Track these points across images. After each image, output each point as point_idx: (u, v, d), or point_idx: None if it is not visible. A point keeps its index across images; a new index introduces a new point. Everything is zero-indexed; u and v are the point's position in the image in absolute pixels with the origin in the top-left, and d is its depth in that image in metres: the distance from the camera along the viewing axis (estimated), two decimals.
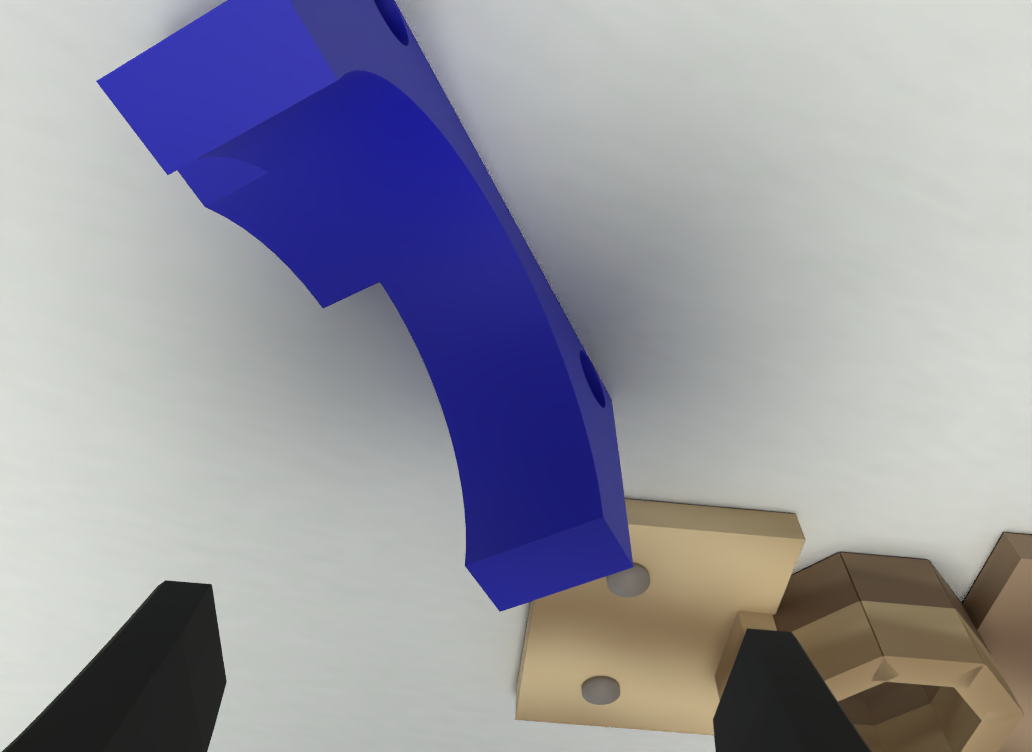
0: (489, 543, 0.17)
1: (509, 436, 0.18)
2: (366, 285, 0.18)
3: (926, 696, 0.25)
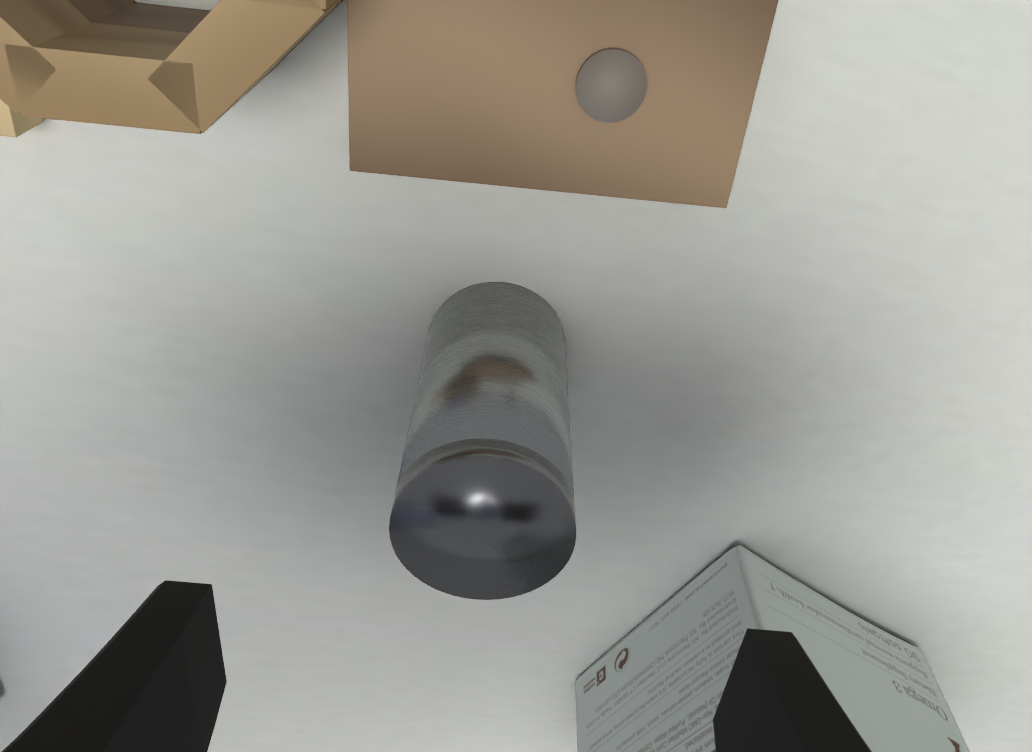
0: None
1: None
2: None
3: None
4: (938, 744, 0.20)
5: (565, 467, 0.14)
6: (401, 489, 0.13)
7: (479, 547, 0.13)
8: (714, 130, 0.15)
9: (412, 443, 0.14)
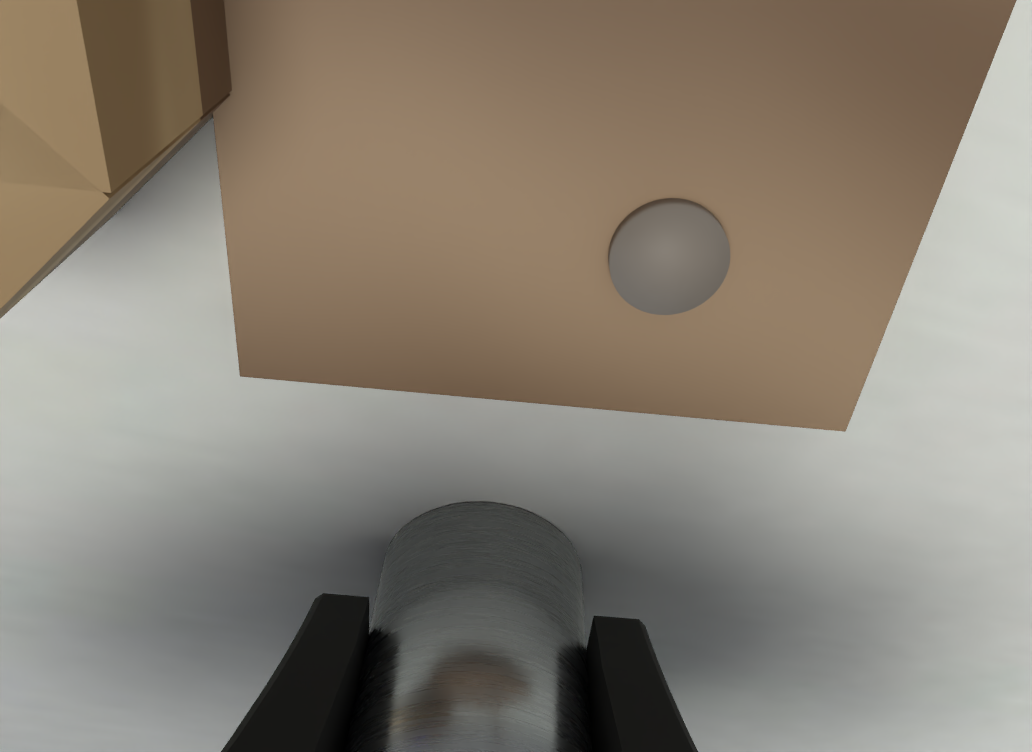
0: None
1: None
2: None
3: None
4: None
5: None
6: None
7: None
8: (835, 323, 0.09)
9: None
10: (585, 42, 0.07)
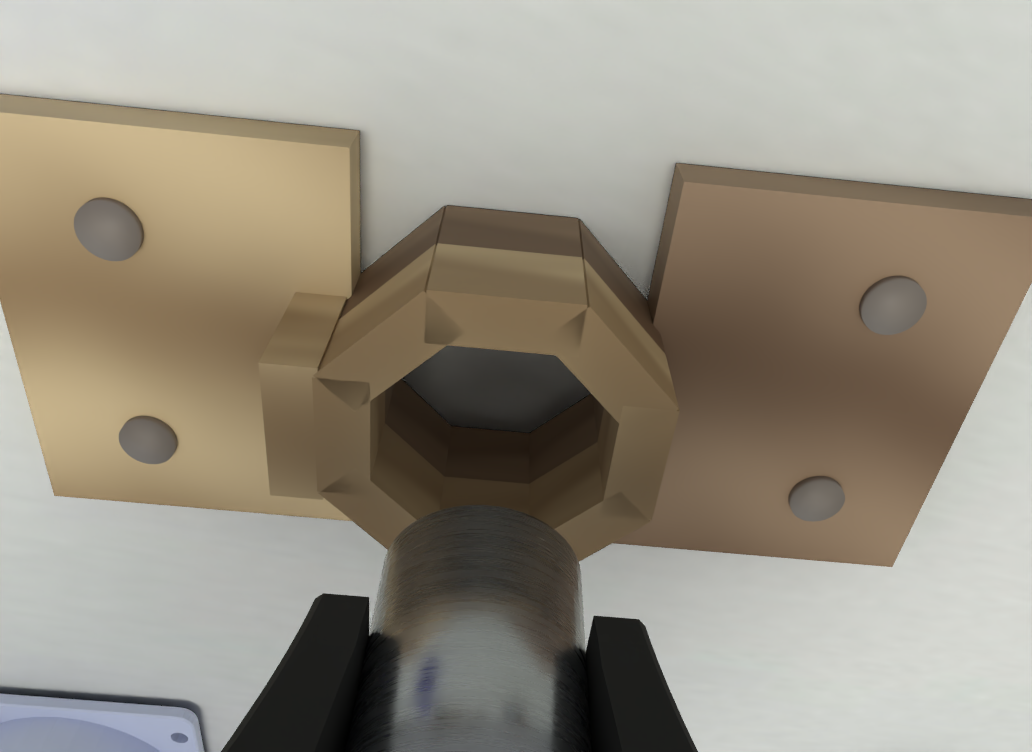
0: None
1: None
2: None
3: (595, 435, 0.17)
4: None
5: None
6: None
7: None
8: (889, 522, 0.19)
9: None
10: (790, 423, 0.18)
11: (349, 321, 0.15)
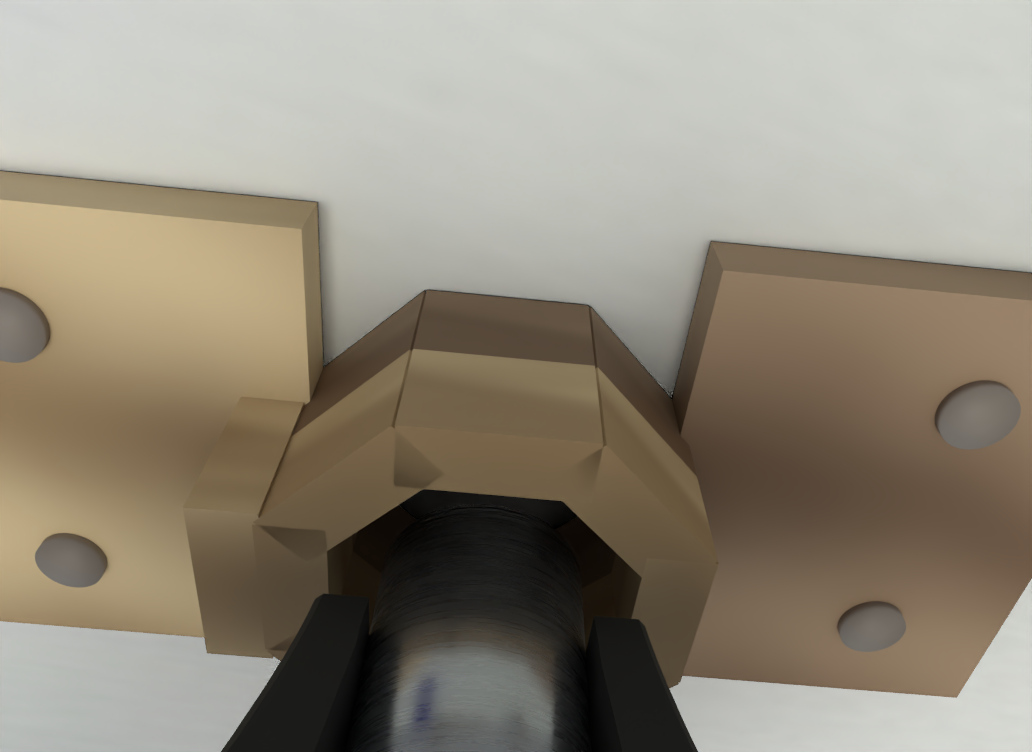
0: None
1: None
2: None
3: (609, 562, 0.14)
4: None
5: None
6: None
7: None
8: (956, 651, 0.16)
9: None
10: (844, 544, 0.15)
11: (303, 444, 0.12)
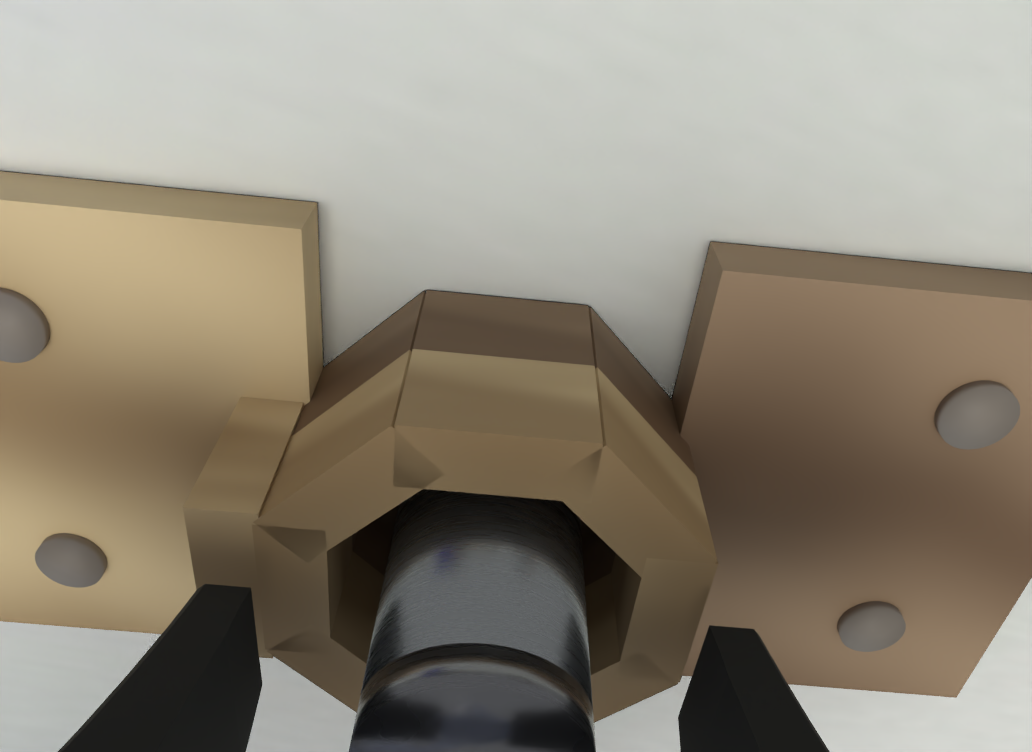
0: None
1: None
2: None
3: (608, 562, 0.14)
4: None
5: (578, 663, 0.10)
6: (361, 713, 0.10)
7: None
8: (956, 651, 0.16)
9: (378, 635, 0.11)
10: (844, 544, 0.15)
11: (302, 444, 0.12)
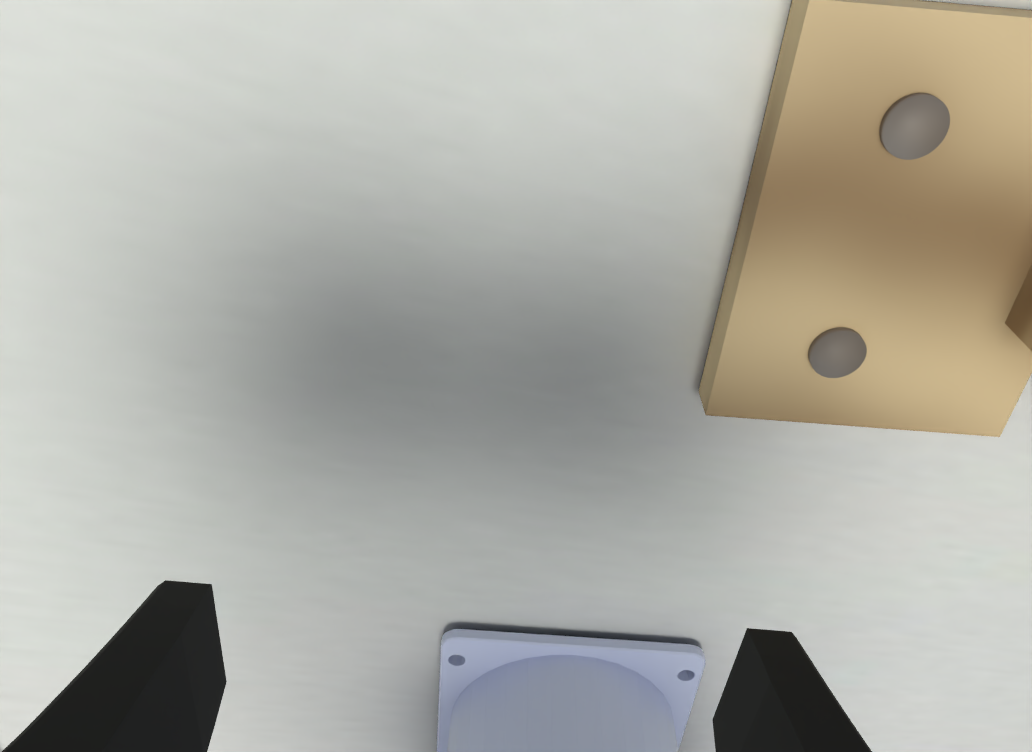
0: None
1: None
2: None
3: None
4: None
5: None
6: None
7: None
8: None
9: None
10: None
11: None
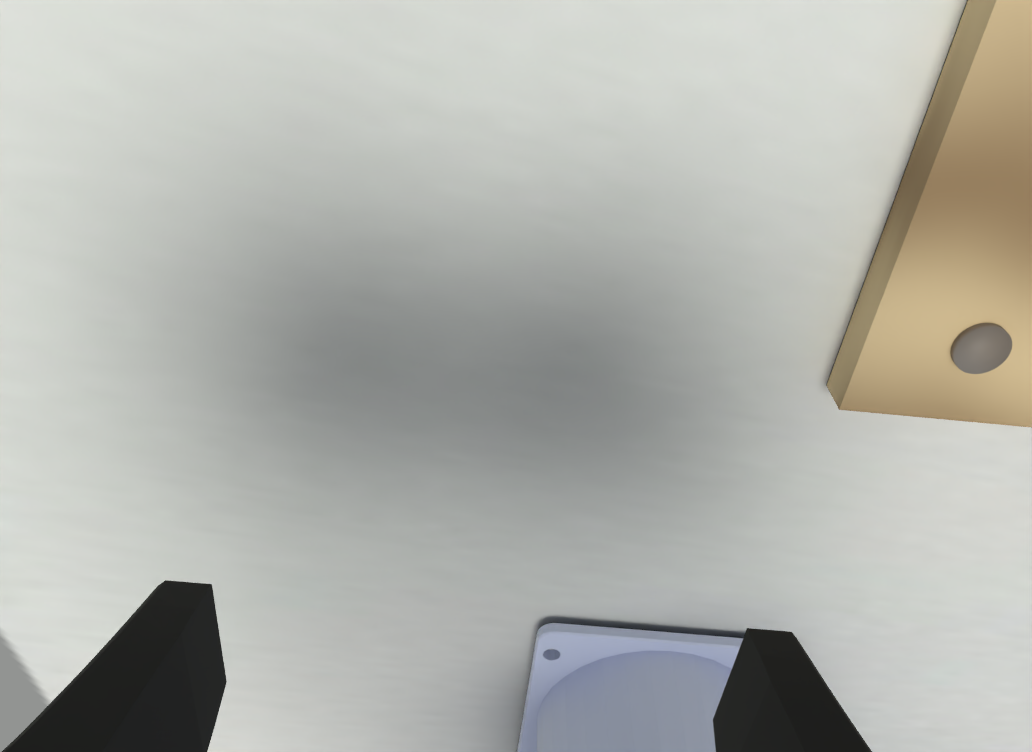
0: None
1: None
2: None
3: None
4: None
5: None
6: None
7: None
8: None
9: None
10: None
11: None
